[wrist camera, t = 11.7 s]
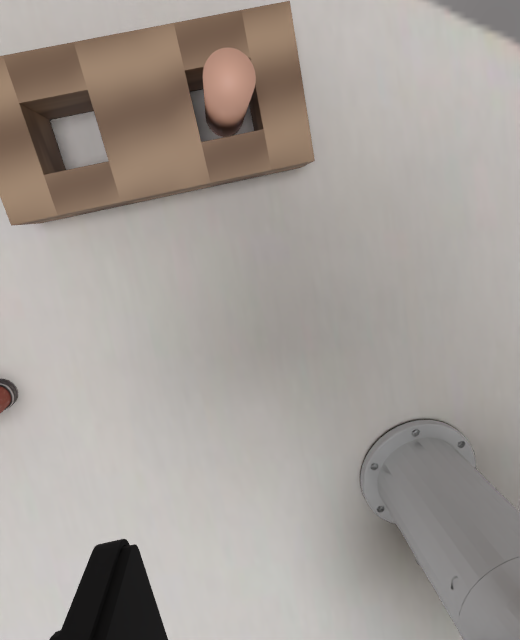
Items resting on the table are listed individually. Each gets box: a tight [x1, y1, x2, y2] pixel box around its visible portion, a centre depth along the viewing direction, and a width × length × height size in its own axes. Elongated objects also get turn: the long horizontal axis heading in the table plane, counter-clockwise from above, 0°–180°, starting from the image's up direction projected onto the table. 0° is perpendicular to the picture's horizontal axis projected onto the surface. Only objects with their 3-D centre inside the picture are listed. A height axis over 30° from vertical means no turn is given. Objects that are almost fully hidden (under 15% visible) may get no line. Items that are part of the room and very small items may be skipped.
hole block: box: [0, 1, 315, 225], centre depth 29 cm, size 10×22×5 cm, turn 102°
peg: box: [203, 48, 256, 137], centre depth 27 cm, size 3×3×10 cm
